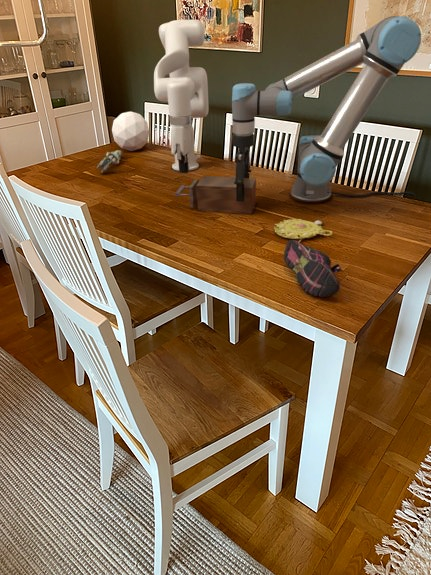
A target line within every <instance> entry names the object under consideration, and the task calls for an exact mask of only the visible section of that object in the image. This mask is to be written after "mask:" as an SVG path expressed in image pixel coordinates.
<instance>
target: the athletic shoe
mask: <svg viewBox="0 0 431 575" xmlns="http://www.w3.org/2000/svg"><path fill="white" fill-rule="evenodd" d="M283 252H284V253H283V261H284V262H285V265H286V266H287V267H288V268H289V269H290V270H292V271H294V272H295V274H296V277H295V279H296V281H297V283H298V285H299V286H300V287H301V289H302V290H303V291H304V292H305V293H307V294H309V295H311V296H314V297H317V296H319V298H323V297H329V296H333V295H337V293H339V291H340V289H341V285H340V282H339V280H338V278H337V277H336V274H335V273H340V272H343V273H344V270H342V267H341V265H340V264H339V263H336V264H334V265H333V266H332V260H331V258H330V256H329V255H327V254H326V253H324V252H322V251H320V250H318V249H316V248H312V247H310V246H308V245H305V244H302V243H300V242H299V241H298V240H296V239H290V240H289V241H288V242H287V243H286V244H285V249H284V251H283Z"/></svg>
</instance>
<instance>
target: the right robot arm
mask: <svg viewBox="0 0 431 575" xmlns="http://www.w3.org/2000/svg"><path fill="white" fill-rule="evenodd" d="M421 43H422V32H421V28H420V27H419V24H417V22H416V21H414V20H413V19H412V18H409V17H407V16H402V15H401V16H399V15H393V16H388V17H385V18H383V19H382V20H380V21H378V22H377V23H375V24H374V25H373V26H371V27H369V28H368V29H366V30H364V31H362V32H361V33H360V34H358V35H357V37H356V38H355V40H352V41H351V42H349V43H348V44H345V45H343V46H342V47H340V48H338V49H336V50H334V51H332V52H331V53H329V54H327V55H325V56H323V57H321V58H320V59H318V60H316V61H314V62H312V63H310V64H309V65H307V66H305V67H303V68H301V69H299V70H297V71H295V72H294V73H291V74H290V75H288V76H286V77H284V78H282V79H280V80H279V81H277V82H272V83H271V84H269V85H268V86H266V88H265V89H264V90H257V89H256V85H255V84H254V83H248V82H247V83H246V82H243V83H236V84H235V85H234V86H233V87H232V91H231V92H232V94H231V113H232V114H231V115H232V116H231V118H232V119H231V120H232V122H231V123H230V126H231V127H232V130H231V131H232V133H233V134H232V136H231V137H232V138H231V140H232V143H231V145H232V146H233V147H235V148H238V149H237V151H236V155H235V159H236V160H235V162H236V163H235V177H236V178H235V182H234V184H236V201H242V202H244V178H250V173H252V169H251V159H250V158H251V157H250V156H251V155H250V148H251V147H253V146H254V145H255V134H254V133H255V132H256V130H255V128H256V127H255V126H256V118H255V116H273V117H274V116H279V117H282V116H289V115H291V113H292V104H293V103H292V102H293V100H294V99H296V98H298V97H301V96H302V95H304V94H307V93H308V92H310V91H312V90H314V89H316V88H318V87H320V86H322V85H324V84H326V83H327V82H330V81H333V80H334V79H336V78H338V77H339V76H341V75H344V74H345V73H347V72H349V71H351V70H353V69H355V68H357V67H359V66H362V65H363V64H364V65H363V66H362V67H361V69H360V71H359V73H358V74H357V76H356V77H355V79H354V81H353V82H352V84H351V85H350V87H349V89H348V91H347V92H346V94H345V95H344V97H343V99H342V100H341V102H340V104H339V105H338V106H337V108H336V110H335V112H334V113H333V115H332V117H331V119H330V120H329V122H328V123H327V125H326V126H325V128H324V129H323V131H322V133H321V134H320V135H319V134H318V135H317V134H316V135H313V134H311V135H302V136H301V137H300V138H299V143H298V156H297V158H298V159H297V171H296V178H295V180H294V182H293V184H292V187H291V190H290V197H291V198H292V199H293V200H295V201H297V202H300V203H304V204H322V203H325V202H327V201H329V200H330V199H331V195H336V196H341V197H351V198H365V197H369V196H373V195H389V196H390V195H391V196H402V195H410V196H412V197H414V198H416V197H417V195H416V194H415V193H414V192H412V191H401V192H391V191H372V192H369V193H363V194H351V193H343V192H336V191H331V187H330V182H331V181H332V180H333V179H334V177H335V175H336V172H337V167H338V165H339V164H340V162H341V160H342V159H343V158H344V156H345V151H344V147H346V144H347V143H348V142H349V140H350V138H351V137H352V135H353V134H354V132H355V131H356V129H357V128H358V126H359V124H360V123H361V122H362V120H363V119H364V117H365V116H366V114H367V113H368V111H369V109H370V108H371V107H372V104H374V102H375V100H376V99H377V97H378V95H379V94H380V92H381V91H382V89H383V88H384V86H385V85H386V84H387V82H388V81H389V79H390V78H394V77H397V76H398V74H399V72H400V71H401V69H402V68H403V66H404V65H405V64H406V63H407V62H409V61H410V60H412V59H413V58H414V57H415V56H416V54H417V52H418V51H419V49H420V47H421ZM238 180H241V181H238Z"/></svg>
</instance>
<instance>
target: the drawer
mask: <svg viewBox="0 0 431 575" xmlns="http://www.w3.org/2000/svg"><path fill="white" fill-rule="evenodd" d="M199 181H200V180H199V178H195V179H194V180H193V181H192V183H191V184H190V185H189V186H185V185H184V184H181V186H180V187H179V188H178V190H176V191H175V193H174V197H176V198H178V197H189V207H190V208H194V207H195V206H196V204H198V203H197V184H198V183H199ZM185 189H186V190H187V189H188V190H189V191H188V193H183V191H184V190H185Z"/></svg>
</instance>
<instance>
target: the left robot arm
mask: <svg viewBox="0 0 431 575" xmlns="http://www.w3.org/2000/svg"><path fill="white" fill-rule="evenodd" d="M205 34H206V33H205V27H204V25H203V22H202V21H201V20H199V19H175V20H171V21H169V22H165V23H162V24H161V25H160V26H159V27H158V35H159V39H160V41H161V44H162V46H163V48H164V50H165V55H163V57H161V59H160V60H159V61H158V62H157V64H156V65H155V68H154V71H153V91H154V96H155V98H156V99H157V101H159V102H167V104H168V114H169V126H170V127H171V129H170V141H171V142H170V146H171V147H170V148H171V155H172V156H174V163H172V164H171V169H172V170H174V171H177V172H179V174H188V173H189V171H190V172H191V171H194V170H197V169H198V168H199V167H200V165H199V163H198V162H197V161H198V160H200V159H201V158H202V156H201V155H200V154H197V155H196V152H195V150H196V148H195V131H194V127H193V124H192V122H193V121H192V119H202V118H206V117H208V115H209V110H210V108H209V107H210V106H209V84H208V74H207V72H206V69H205V68H204V67H200V66H191V67H190V51H189V50H190V48H191V47H192V48H193V47H202V46H203V45H204V43H205V36H206V35H205ZM168 75H169V77H166V76H168Z"/></svg>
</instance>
